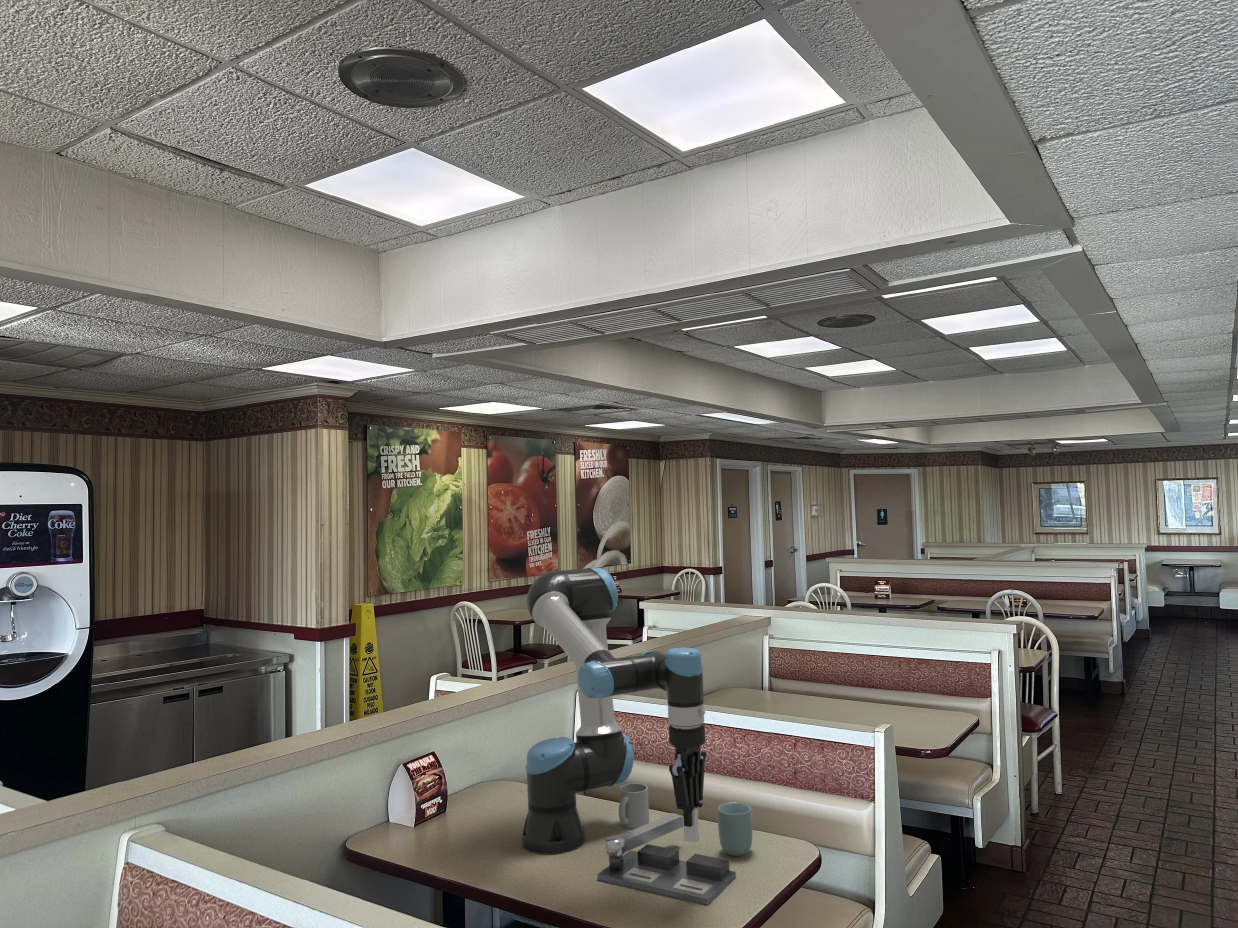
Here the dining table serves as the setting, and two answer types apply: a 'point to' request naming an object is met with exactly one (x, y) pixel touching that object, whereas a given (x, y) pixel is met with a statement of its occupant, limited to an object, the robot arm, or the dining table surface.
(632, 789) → the cup
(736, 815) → the cup
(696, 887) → the panel
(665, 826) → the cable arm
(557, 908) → the dining table surface
